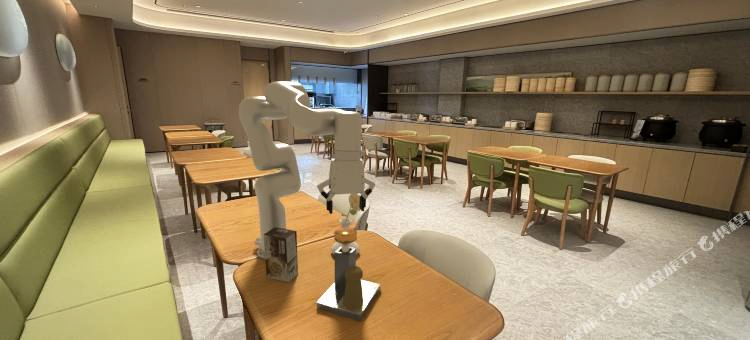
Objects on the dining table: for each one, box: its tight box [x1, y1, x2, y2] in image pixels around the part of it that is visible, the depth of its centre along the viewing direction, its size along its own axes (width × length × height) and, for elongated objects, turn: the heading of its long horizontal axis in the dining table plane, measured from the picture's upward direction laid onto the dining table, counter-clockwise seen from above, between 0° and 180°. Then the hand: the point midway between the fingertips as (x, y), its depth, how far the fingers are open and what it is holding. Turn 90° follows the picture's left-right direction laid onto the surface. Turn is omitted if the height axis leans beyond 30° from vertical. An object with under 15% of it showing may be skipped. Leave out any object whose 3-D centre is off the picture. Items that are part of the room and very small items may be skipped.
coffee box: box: [264, 227, 299, 283], centre depth 108 cm, size 9×6×16 cm
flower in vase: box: [330, 193, 361, 255], centre depth 124 cm, size 13×11×25 cm
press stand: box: [316, 246, 382, 322], centre depth 97 cm, size 14×16×14 cm
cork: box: [343, 265, 364, 309], centre depth 92 cm, size 6×6×11 cm
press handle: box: [333, 227, 358, 254], centre depth 100 cm, size 7×7×13 cm
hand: (346, 210), depth 95 cm, fingers open, 9 cm apart
